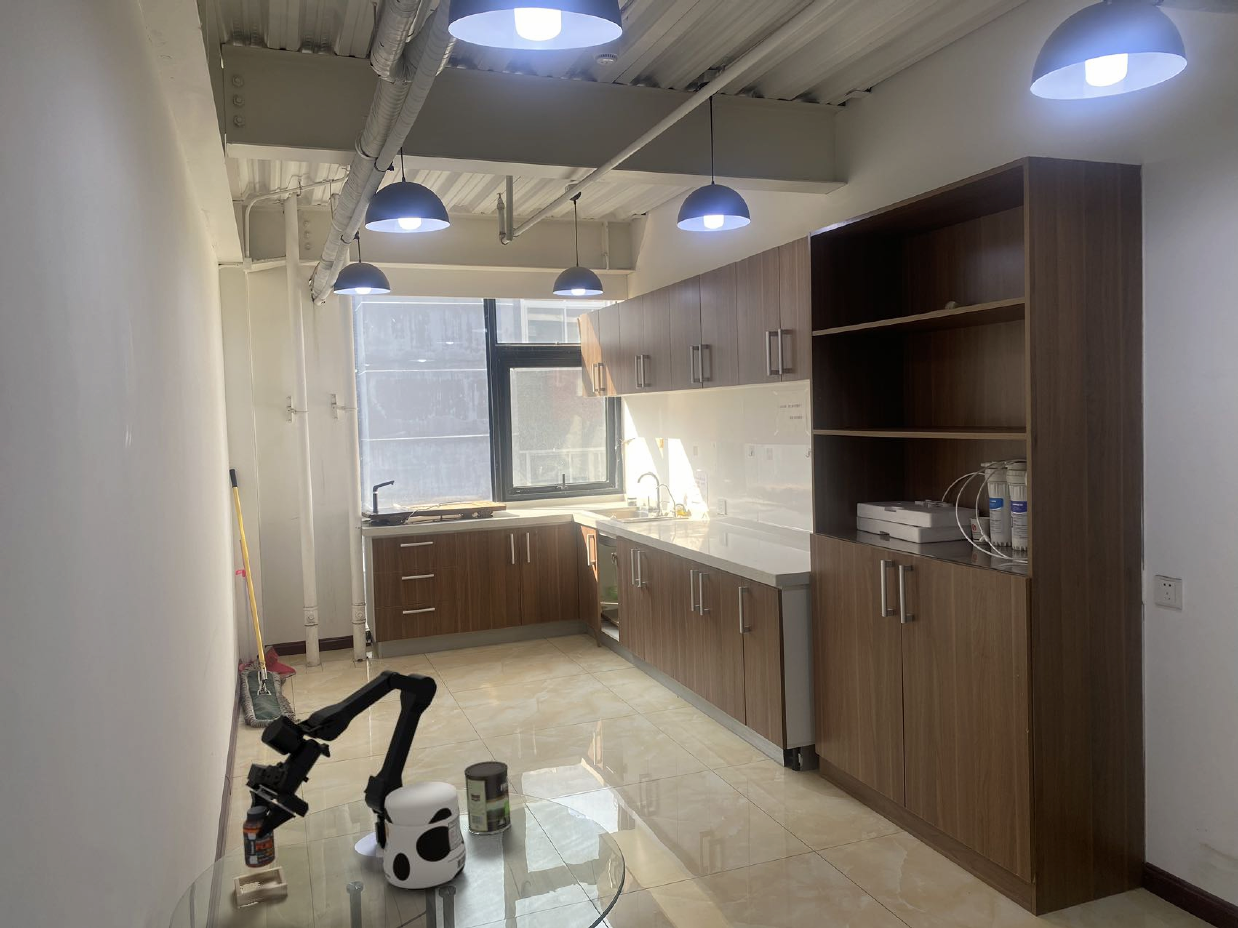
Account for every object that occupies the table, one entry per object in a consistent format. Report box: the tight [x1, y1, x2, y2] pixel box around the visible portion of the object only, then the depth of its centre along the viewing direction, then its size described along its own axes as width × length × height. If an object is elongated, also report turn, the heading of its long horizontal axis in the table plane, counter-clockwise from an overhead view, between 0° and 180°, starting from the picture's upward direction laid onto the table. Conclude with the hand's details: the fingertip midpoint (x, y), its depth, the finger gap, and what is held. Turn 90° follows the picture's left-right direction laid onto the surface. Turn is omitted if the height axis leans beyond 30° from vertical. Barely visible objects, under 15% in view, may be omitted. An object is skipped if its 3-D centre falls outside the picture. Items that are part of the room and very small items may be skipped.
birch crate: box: [233, 865, 289, 908], centre depth 195 cm, size 10×10×2 cm
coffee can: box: [464, 760, 512, 836], centre depth 222 cm, size 10×10×14 cm
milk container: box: [382, 781, 467, 892], centre depth 197 cm, size 17×17×18 cm
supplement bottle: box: [242, 806, 276, 869], centre depth 195 cm, size 6×6×11 cm
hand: (251, 833), depth 194 cm, fingers closed on supplement bottle, 6 cm apart
